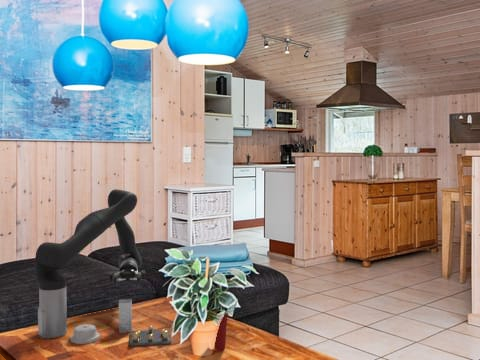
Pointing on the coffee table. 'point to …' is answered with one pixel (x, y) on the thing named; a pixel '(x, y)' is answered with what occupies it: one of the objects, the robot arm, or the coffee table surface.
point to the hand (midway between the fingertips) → (126, 280)
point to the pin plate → (145, 338)
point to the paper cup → (221, 334)
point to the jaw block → (125, 315)
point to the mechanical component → (84, 334)
